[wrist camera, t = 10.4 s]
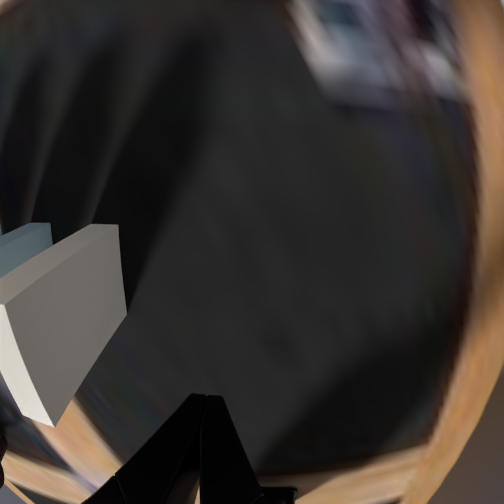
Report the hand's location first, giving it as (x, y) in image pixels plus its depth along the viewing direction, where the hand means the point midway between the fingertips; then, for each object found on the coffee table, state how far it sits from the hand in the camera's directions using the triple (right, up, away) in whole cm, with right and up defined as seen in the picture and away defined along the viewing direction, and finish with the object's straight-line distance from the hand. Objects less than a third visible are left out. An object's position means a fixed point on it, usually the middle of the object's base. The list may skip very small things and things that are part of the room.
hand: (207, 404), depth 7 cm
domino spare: (-6, +3, +8) cm, 10 cm away
